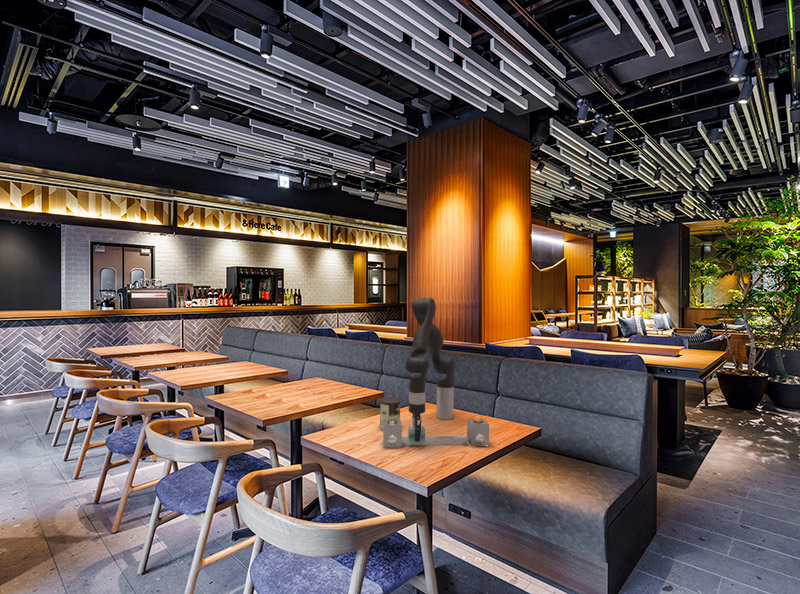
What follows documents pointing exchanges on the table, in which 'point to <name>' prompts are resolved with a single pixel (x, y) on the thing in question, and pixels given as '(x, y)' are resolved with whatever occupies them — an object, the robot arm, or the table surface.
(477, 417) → the button
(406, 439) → the rail
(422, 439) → the carriage
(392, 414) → the coffee can
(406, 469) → the table surface
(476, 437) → the cabinet
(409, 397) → the robot arm
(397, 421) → the cabinet
